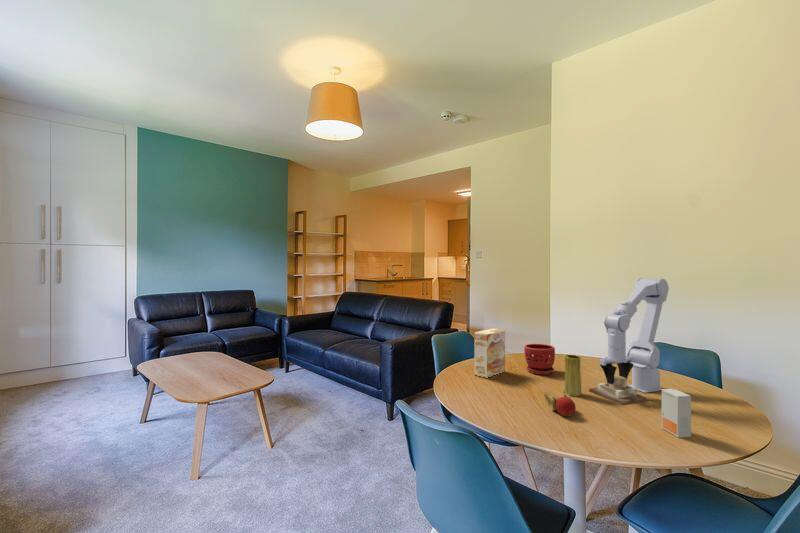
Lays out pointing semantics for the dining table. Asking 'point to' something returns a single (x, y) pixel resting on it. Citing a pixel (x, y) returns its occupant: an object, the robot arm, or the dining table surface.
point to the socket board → (618, 394)
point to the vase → (572, 375)
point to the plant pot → (540, 358)
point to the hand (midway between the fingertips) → (616, 382)
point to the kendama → (560, 403)
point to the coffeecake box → (489, 352)
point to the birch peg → (619, 383)
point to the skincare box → (676, 412)
